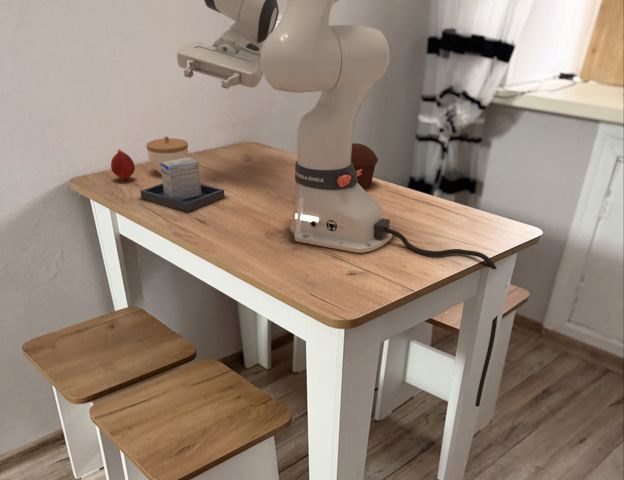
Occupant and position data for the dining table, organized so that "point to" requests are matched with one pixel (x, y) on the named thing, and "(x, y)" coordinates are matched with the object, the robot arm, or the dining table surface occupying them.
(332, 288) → the dining table surface
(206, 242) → the dining table surface
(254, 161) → the dining table surface
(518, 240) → the dining table surface
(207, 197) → the tray
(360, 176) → the muffin
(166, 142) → the trinket box
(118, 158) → the onion
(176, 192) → the medicine box
